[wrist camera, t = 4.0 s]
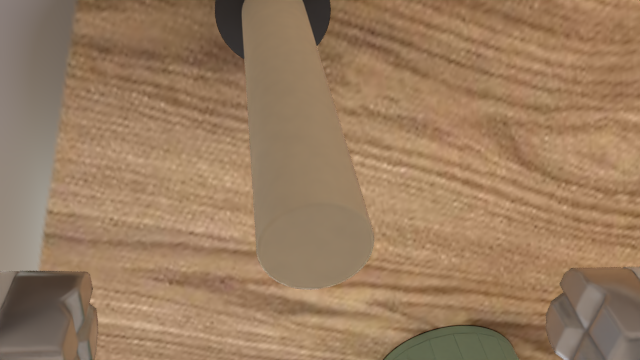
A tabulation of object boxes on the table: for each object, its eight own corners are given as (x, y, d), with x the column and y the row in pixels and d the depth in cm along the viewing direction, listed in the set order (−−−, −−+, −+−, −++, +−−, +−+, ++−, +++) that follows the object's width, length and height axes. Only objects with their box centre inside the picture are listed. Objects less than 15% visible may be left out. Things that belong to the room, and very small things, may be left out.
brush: (215, 32, 24) (207, 325, 12) (216, -73, 21) (205, 157, 9) (314, 37, 24) (401, 319, 12) (325, -65, 22) (444, 160, 10)
